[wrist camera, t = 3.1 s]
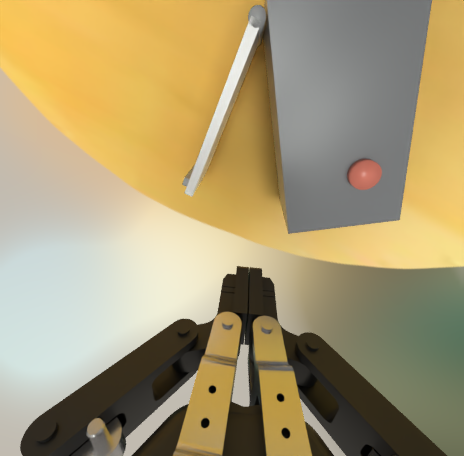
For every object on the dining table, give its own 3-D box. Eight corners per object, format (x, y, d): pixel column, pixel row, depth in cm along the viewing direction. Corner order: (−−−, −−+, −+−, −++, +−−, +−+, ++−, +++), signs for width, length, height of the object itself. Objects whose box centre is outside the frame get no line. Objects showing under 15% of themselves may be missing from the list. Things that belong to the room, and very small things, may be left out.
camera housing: (258, -9, 22) (261, -72, 14) (375, -42, 21) (461, -135, 12) (279, 198, 32) (289, 237, 23) (361, 187, 30) (404, 224, 22)
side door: (249, 26, 23) (247, -2, 16) (264, 35, 23) (269, 10, 16) (195, 168, 30) (178, 190, 23) (207, 173, 30) (194, 197, 23)
